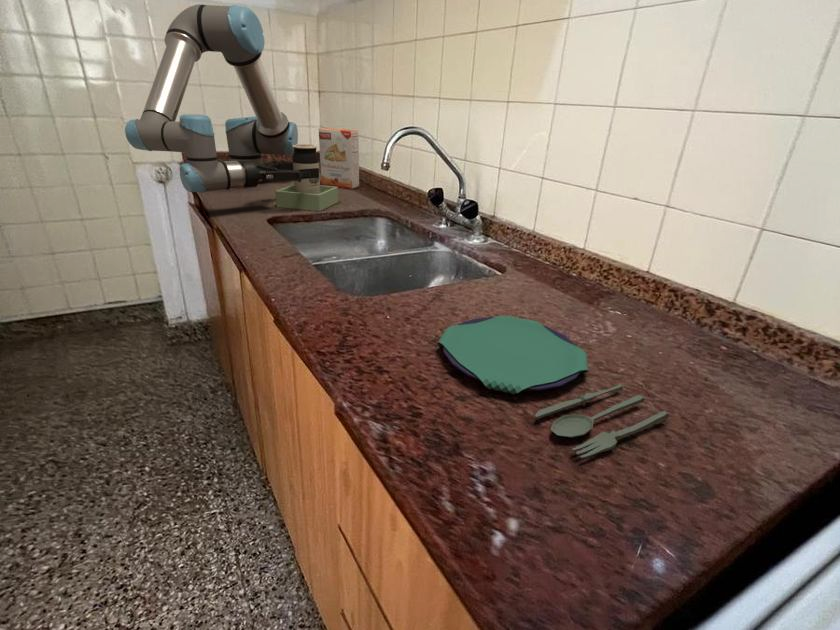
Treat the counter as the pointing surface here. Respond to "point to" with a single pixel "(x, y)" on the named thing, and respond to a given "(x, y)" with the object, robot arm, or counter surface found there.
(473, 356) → the cutlery set
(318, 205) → the crate
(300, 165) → the travel mug
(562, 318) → the counter surface
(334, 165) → the cracker box
